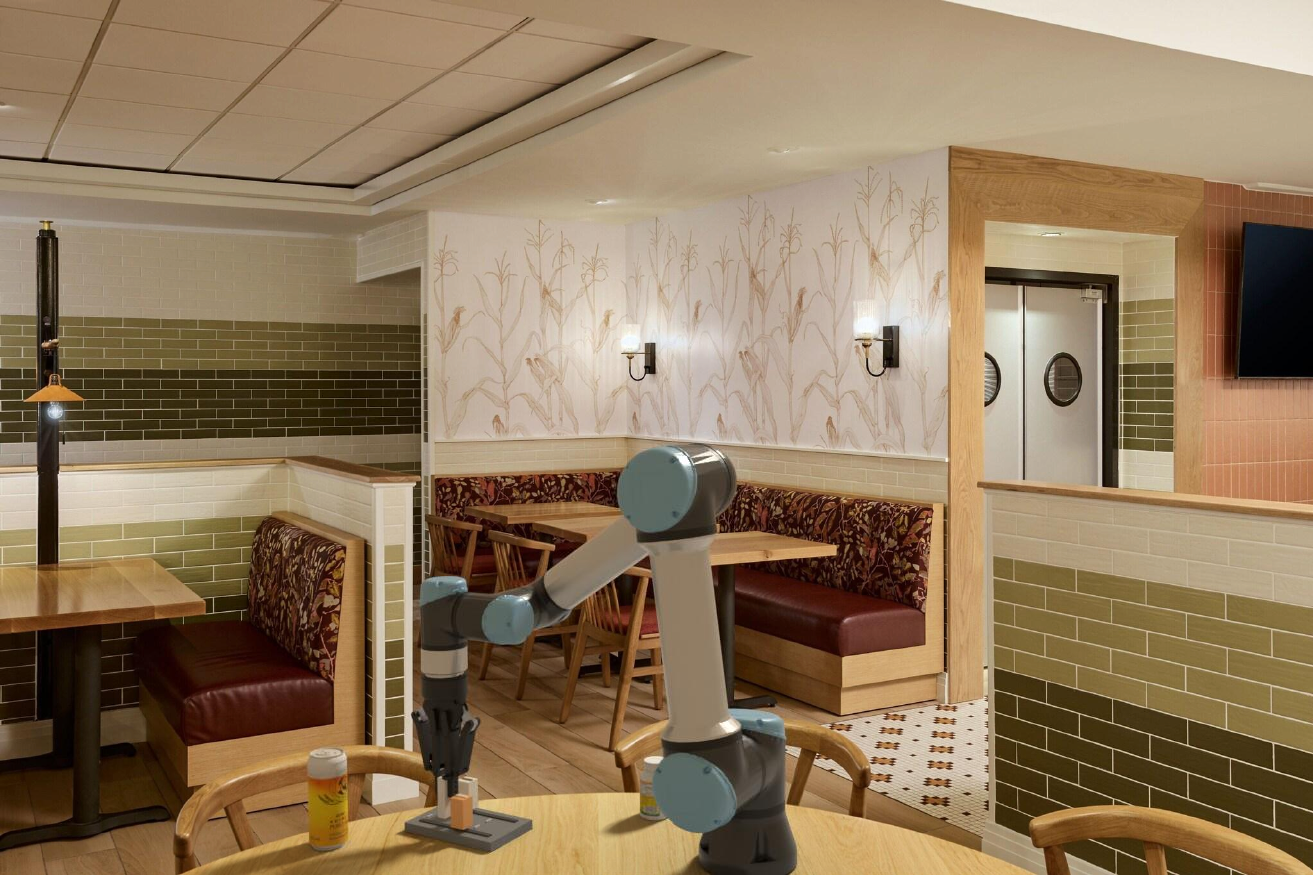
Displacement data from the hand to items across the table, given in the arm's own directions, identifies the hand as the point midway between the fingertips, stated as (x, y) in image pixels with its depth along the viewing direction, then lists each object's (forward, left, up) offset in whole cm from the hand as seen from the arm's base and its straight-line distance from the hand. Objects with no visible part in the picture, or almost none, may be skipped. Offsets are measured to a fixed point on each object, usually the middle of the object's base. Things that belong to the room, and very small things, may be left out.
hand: (447, 815), depth 185 cm
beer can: (+14, +12, -4) cm, 19 cm away
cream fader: (+1, -7, -1) cm, 7 cm away
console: (-2, -3, -3) cm, 5 cm away
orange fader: (-3, 0, -1) cm, 3 cm away
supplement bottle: (-26, -24, -4) cm, 35 cm away
